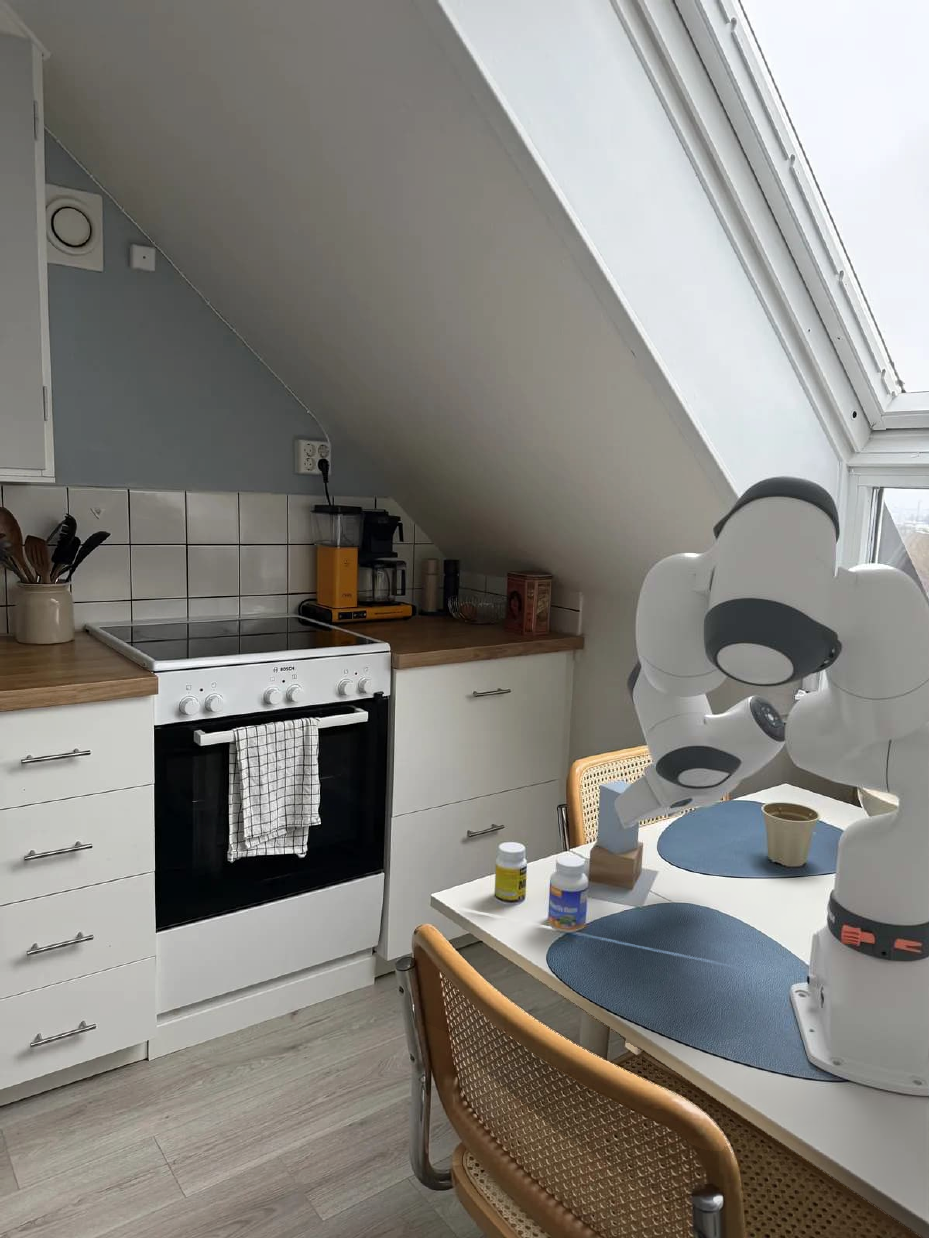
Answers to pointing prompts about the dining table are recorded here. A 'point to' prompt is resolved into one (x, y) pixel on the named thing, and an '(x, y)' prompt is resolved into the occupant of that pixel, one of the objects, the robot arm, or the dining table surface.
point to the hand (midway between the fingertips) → (647, 817)
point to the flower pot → (789, 831)
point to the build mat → (622, 889)
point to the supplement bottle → (510, 874)
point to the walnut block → (615, 866)
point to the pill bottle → (568, 895)
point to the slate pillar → (614, 821)
